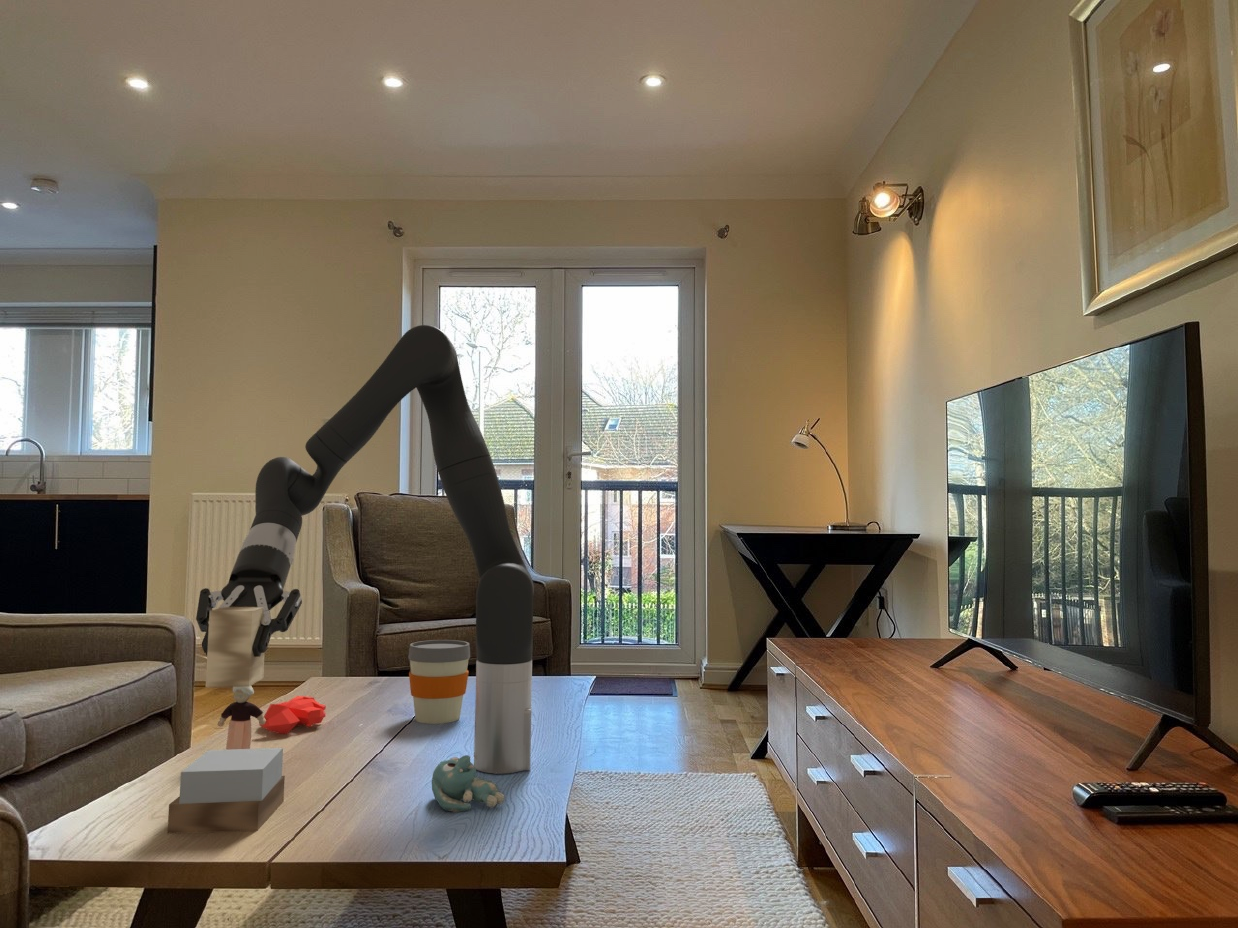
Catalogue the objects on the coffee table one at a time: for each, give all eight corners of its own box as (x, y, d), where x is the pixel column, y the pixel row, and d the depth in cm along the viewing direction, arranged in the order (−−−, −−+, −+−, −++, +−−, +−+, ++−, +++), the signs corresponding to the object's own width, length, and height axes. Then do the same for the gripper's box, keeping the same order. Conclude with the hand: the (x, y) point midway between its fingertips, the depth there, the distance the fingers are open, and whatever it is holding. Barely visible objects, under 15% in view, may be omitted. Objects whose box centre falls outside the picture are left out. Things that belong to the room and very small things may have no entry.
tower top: (281, 776, 114) (283, 747, 114) (261, 800, 104) (263, 769, 104) (206, 779, 112) (208, 749, 112) (179, 803, 102) (180, 771, 103)
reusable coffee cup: (454, 727, 157) (456, 649, 158) (394, 723, 159) (397, 647, 160) (477, 713, 169) (479, 641, 170) (422, 709, 171) (424, 638, 172)
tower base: (283, 804, 114) (284, 775, 114) (257, 833, 103) (258, 802, 103) (202, 806, 113) (203, 777, 113) (167, 836, 102) (169, 804, 102)
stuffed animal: (479, 782, 107) (416, 752, 113) (469, 834, 107) (407, 800, 113) (527, 763, 116) (466, 735, 122) (518, 811, 116) (458, 781, 122)
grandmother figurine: (212, 762, 132) (216, 684, 133) (217, 755, 136) (220, 679, 136) (262, 759, 134) (266, 682, 135) (266, 752, 138) (269, 678, 139)
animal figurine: (249, 740, 146) (250, 712, 146) (271, 720, 161) (272, 695, 161) (315, 738, 148) (316, 710, 148) (331, 719, 163) (332, 693, 163)
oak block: (263, 677, 113) (266, 606, 114) (248, 686, 107) (252, 610, 108) (222, 678, 112) (226, 606, 113) (205, 686, 106) (209, 610, 107)
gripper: (208, 542, 117) (168, 636, 105) (310, 543, 119) (282, 636, 106) (220, 576, 122) (183, 670, 110) (318, 576, 124) (292, 669, 111)
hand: (232, 652), depth 108 cm, fingers closed on oak block, 5 cm apart
